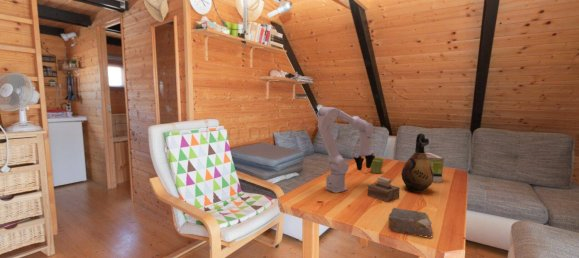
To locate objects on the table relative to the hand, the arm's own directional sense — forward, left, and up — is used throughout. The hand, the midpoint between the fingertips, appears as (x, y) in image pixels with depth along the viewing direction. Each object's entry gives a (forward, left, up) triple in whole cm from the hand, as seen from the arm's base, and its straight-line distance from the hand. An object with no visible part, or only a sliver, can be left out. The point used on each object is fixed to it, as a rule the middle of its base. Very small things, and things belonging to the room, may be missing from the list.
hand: (363, 168), depth 150 cm
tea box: (+44, -14, -10) cm, 47 cm away
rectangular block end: (-5, -16, -7) cm, 18 cm away
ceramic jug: (+19, -20, -10) cm, 29 cm away
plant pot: (+29, +12, -10) cm, 33 cm away
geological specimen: (-25, -41, -10) cm, 49 cm away
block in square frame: (-5, -16, -9) cm, 19 cm away
